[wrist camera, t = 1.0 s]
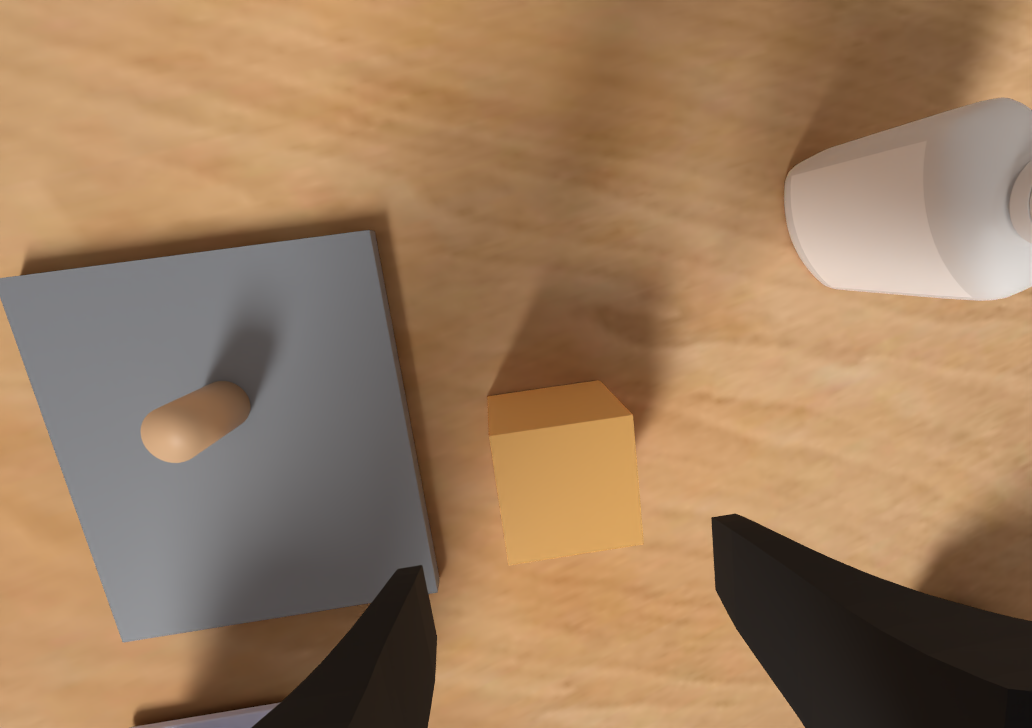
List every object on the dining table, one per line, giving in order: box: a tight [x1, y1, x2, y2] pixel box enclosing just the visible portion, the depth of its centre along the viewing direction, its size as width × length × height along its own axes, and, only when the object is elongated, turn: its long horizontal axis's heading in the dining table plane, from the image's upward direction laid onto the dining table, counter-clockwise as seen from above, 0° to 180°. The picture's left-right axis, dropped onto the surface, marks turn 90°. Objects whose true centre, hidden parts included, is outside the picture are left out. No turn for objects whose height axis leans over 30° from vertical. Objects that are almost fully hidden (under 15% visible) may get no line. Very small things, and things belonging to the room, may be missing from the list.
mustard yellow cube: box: [487, 380, 644, 566], centre depth 20 cm, size 5×5×5 cm
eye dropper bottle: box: [784, 98, 1032, 301], centre depth 15 cm, size 4×6×12 cm
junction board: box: [0, 230, 440, 642], centre depth 19 cm, size 16×14×4 cm
